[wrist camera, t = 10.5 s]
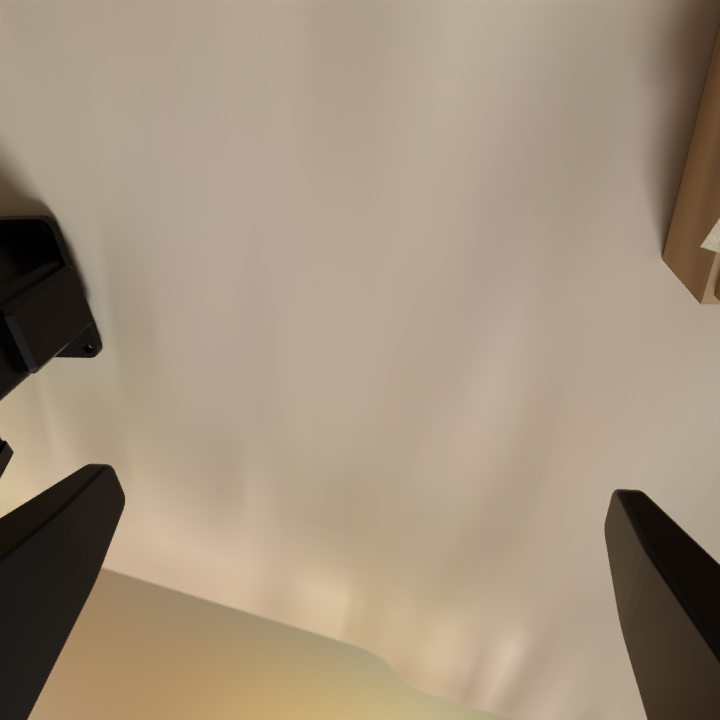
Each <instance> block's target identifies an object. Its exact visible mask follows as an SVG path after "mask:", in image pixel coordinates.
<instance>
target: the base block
mask: <svg viewBox="0 0 720 720" xmlns="http://www.w3.org/2000/svg"><path fill="white" fill-rule="evenodd" d="M719 218H720V25H719V29H718V33H717V37H716V41H715V45H714V49H713V53H712V57H711V62H710V66H709V70H708V74H707V78H706V82H705V86H704V90H703V94H702V98H701V102H700V106H699V111H698V115H697V119H696V123H695V127H694V131H693V135H692V139H691V143H690V147H689V151H688V155H687V160H686V164H685V168H684V172H683V176H682V180H681V184H680V188H679V192H678V196H677V200H676V204H675V208H674V213H673V217H672V221H671V225H670V229H669V233H668V237H667V241H666V245H665V249H664V253H663V257H662V260H663V261H664V262H665V263H666V264H667V266H668V267H669V268H670V269H671V270H672V271H673V273H674V274H675V275H676V276H677V277H678V278H679V280H680V281H681V282H682V283H683V284H684V285H685V287H686V288H687V289H688V290H689V291H690V292H691V294H692V295H693V296H694V297H695V298H696V299H697V301H698V302H699V303H700V304H720V253H718V252H715V251H712V250H709V249H705V248H702V247H700V246H701V245H702V243H703V242H704V241H705V239H706V238H707V236H708V235H709V233H710V232H711V230H712V229H713V227H714V226H715V224H716V223H717V221H718V220H719Z"/></svg>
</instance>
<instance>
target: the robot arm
mask: <svg viewBox="0 0 720 720" xmlns="http://www.w3.org/2000/svg"><path fill="white" fill-rule="evenodd" d="M41 225H42V226H43V227H45V229H46V230H47V233H46V232H44V231H43V229H42V228H41ZM87 344H89V345H90V346H91V347H92V348H90V347H89V346H88V345H87ZM102 348H103V347H102V343H101V340H100V337H99V335H98V332H97V329H96V327H95V324H94V321H93V319H92V316H91V313H90V311H89V308H88V305H87V303H86V300H85V297H84V295H83V292H82V289H81V287H80V284H79V281H78V279H77V276H76V273H75V271H74V268H73V265H72V262H71V260H70V257H69V254H68V252H67V249H66V246H65V244H64V241H63V238H62V236H61V233H60V230H59V228H58V226H57V224H56V223H55V222H54V221H53V220H52V219H51V218H49V217H47V216H7V217H0V401H1V400H2V399H3V398H4V397H5V396H7V395H8V394H9V393H10V392H11V391H12V390H13V389H14V388H16V387H17V386H18V385H19V384H20V383H21V382H22V381H24V380H25V379H26V378H27V377H28V376H29V375H30V374H31V373H36V372H38V371H39V370H40V369H41V368H42V367H44V366H45V365H46V364H47V363H48V362H49V361H50V360H51V359H53V358H54V357H73V358H92V357H95V356H96V355H98V354H99V353H100V352H101V351H102ZM13 453H14V452H13V450H12V449H11V447H10V446H9V444H8V443H7V442H6V441H2V439H1V438H0V478H1V476H2V474H3V472H4V470H5V468H6V466H7V465H8V463H9V461H10V459H11V457H12V455H13ZM124 505H125V495H124V492H123V489H122V487H121V485H120V482H119V480H118V477H117V475H116V473H115V470H114V468H113V467H112V466H110V465H108V464H88V465H86V466H84V467H82V468H81V469H79V470H78V471H76V472H74V473H73V474H71V475H70V476H68V477H66V478H65V479H63V480H61V481H60V482H58V483H57V484H55V485H53V486H52V487H50V488H49V489H47V490H45V491H44V492H42V493H41V494H39V495H37V496H36V497H34V498H32V499H31V500H29V501H28V502H26V503H24V504H23V505H21V506H20V507H18V508H16V509H15V510H13V511H12V512H10V513H8V514H7V515H5V516H3V517H2V518H0V720H27V719H28V717H29V715H30V713H31V711H32V709H33V707H34V705H35V703H36V701H37V699H38V697H39V695H40V693H41V691H42V689H43V687H44V685H45V683H46V681H47V679H48V677H49V675H50V673H51V671H52V669H53V667H54V665H55V662H56V661H57V659H58V656H59V655H60V653H61V651H62V649H63V647H64V645H65V643H66V640H67V639H68V637H69V635H70V633H71V631H72V629H73V627H74V625H75V623H76V621H77V618H78V617H79V615H80V613H81V611H82V609H83V607H84V604H85V602H86V600H87V598H88V596H89V594H90V592H91V590H92V588H93V586H94V584H95V582H96V579H97V577H98V574H99V572H100V570H101V567H102V564H103V562H104V559H105V556H106V554H107V551H108V548H109V546H110V543H111V541H112V538H113V535H114V533H115V530H116V527H117V525H118V522H119V519H120V517H121V514H122V512H123V509H124ZM605 540H606V545H607V551H608V557H609V563H610V569H611V575H612V580H613V586H614V592H615V598H616V604H617V610H618V615H619V620H620V625H621V629H622V633H623V637H624V641H625V644H626V647H627V651H628V654H629V658H630V661H631V665H632V668H633V671H634V675H635V678H636V682H637V685H638V689H639V692H640V695H641V699H642V702H643V706H644V709H645V712H646V716H647V719H648V720H720V564H719V563H718V562H717V561H716V560H714V559H713V558H712V557H711V556H710V555H709V554H708V553H707V552H706V551H705V550H704V549H703V548H702V547H701V546H700V545H699V544H698V543H697V542H696V541H694V540H693V539H692V538H691V537H690V536H689V535H688V534H687V533H686V532H685V531H684V530H683V529H682V528H681V527H680V526H679V525H678V524H677V523H676V522H675V521H673V520H672V519H671V518H670V517H669V516H668V515H667V514H666V513H665V512H664V511H663V510H662V509H661V508H660V507H659V506H658V505H657V504H656V503H655V502H653V501H652V500H651V499H650V498H649V497H648V496H647V495H646V494H645V493H644V492H642V491H640V490H627V489H617V490H615V491H614V492H613V494H612V497H611V501H610V505H609V509H608V513H607V517H606V520H605Z"/></svg>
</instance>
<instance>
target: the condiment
mask: <svg viewBox="0 0 720 720" xmlns="http://www.w3.org/2000/svg"><path fill="white" fill-rule="evenodd" d="M700 247H702V248H705V249H709V250H712V251H715V252H718V253H720V218H719V220H718V221H717V223H716V224H715V226H714V227H713V229H712V230H711V232H710V233H709V235H708V236H707V238H706V239H705V241H704V242H703V243H702V245H701V246H700Z"/></svg>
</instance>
